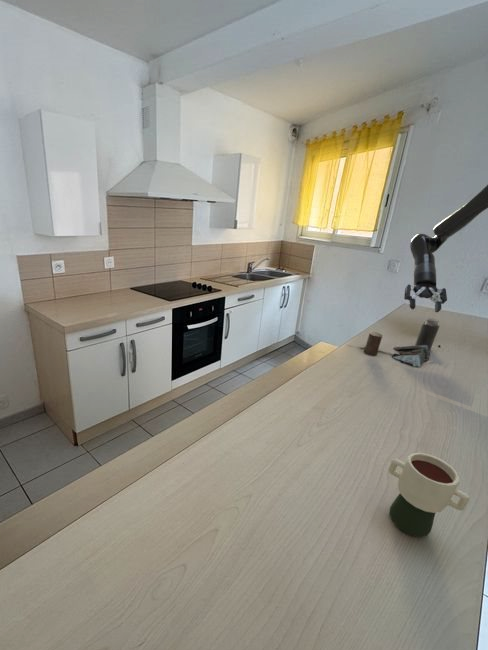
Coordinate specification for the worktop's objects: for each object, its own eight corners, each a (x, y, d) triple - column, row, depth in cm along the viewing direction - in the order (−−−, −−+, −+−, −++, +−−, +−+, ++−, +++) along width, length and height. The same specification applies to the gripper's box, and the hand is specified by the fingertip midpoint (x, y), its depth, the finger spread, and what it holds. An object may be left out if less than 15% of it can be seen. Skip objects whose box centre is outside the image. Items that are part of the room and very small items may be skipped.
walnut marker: (376, 352, 125) (382, 333, 122) (376, 356, 121) (382, 337, 118) (363, 349, 127) (369, 331, 124) (363, 354, 123) (369, 334, 120)
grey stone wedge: (383, 358, 122) (414, 347, 111) (390, 348, 125) (420, 337, 115) (400, 378, 121) (432, 369, 111) (406, 367, 125) (438, 358, 114)
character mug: (448, 531, 56) (478, 476, 51) (440, 559, 52) (472, 502, 47) (381, 492, 63) (401, 440, 58) (368, 514, 59) (389, 459, 54)
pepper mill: (427, 352, 128) (440, 318, 122) (429, 357, 124) (442, 322, 118) (412, 348, 130) (423, 316, 125) (413, 353, 126) (425, 320, 120)
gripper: (409, 269, 133) (409, 303, 127) (449, 272, 129) (451, 307, 124) (401, 279, 140) (401, 311, 134) (439, 282, 136) (440, 316, 130)
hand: (425, 309), depth 129 cm, fingers open, 8 cm apart
